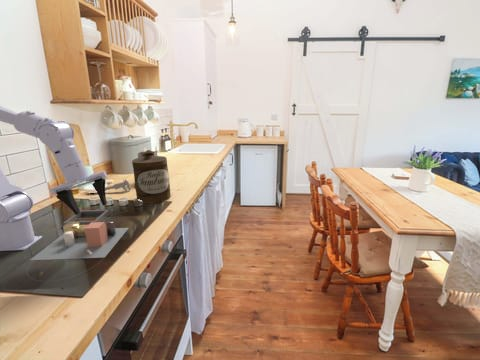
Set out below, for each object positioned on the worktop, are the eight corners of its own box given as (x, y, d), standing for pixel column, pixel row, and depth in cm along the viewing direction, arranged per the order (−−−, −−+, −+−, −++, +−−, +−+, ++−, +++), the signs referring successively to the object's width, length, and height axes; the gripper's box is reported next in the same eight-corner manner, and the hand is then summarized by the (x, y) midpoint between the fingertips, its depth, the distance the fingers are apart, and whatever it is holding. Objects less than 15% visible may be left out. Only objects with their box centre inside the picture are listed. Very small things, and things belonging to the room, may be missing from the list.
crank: (62, 239, 82) (59, 226, 80) (70, 232, 86) (67, 220, 85) (112, 237, 82) (110, 225, 81) (118, 231, 86) (116, 219, 85)
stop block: (88, 247, 77) (84, 228, 76) (94, 240, 81) (91, 222, 80) (101, 246, 78) (98, 227, 76) (107, 239, 81) (104, 221, 80)
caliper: (130, 190, 133) (129, 178, 131) (130, 191, 132) (128, 179, 130) (86, 194, 128) (83, 182, 127) (85, 195, 127) (83, 182, 125)
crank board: (30, 263, 72) (26, 247, 70) (69, 232, 89) (66, 219, 87) (105, 260, 72) (102, 244, 71) (129, 230, 89) (127, 217, 88)
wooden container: (141, 206, 111) (134, 154, 105) (133, 196, 123) (127, 149, 117) (175, 198, 119) (170, 150, 113) (164, 190, 131) (160, 146, 125)
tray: (64, 229, 91) (63, 222, 90) (81, 216, 102) (80, 210, 101) (96, 228, 91) (95, 221, 91) (110, 215, 102) (109, 209, 101)
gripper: (36, 175, 68) (60, 222, 72) (94, 158, 71) (114, 203, 74) (48, 171, 75) (69, 214, 78) (100, 155, 78) (118, 197, 81)
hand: (91, 208), depth 77 cm, fingers open, 7 cm apart
